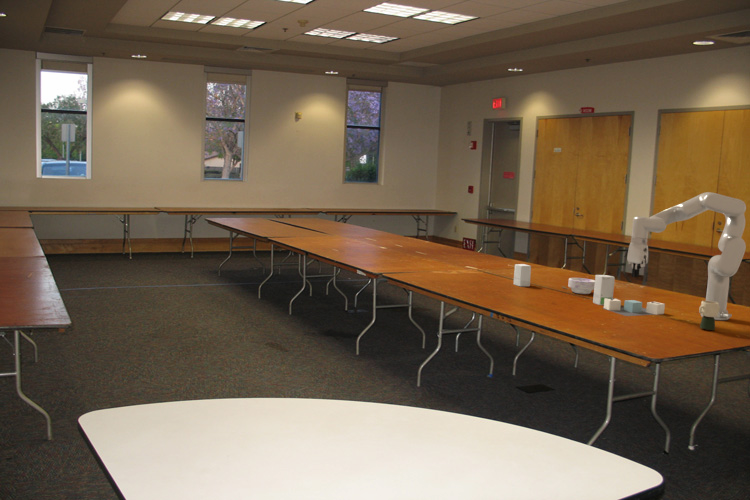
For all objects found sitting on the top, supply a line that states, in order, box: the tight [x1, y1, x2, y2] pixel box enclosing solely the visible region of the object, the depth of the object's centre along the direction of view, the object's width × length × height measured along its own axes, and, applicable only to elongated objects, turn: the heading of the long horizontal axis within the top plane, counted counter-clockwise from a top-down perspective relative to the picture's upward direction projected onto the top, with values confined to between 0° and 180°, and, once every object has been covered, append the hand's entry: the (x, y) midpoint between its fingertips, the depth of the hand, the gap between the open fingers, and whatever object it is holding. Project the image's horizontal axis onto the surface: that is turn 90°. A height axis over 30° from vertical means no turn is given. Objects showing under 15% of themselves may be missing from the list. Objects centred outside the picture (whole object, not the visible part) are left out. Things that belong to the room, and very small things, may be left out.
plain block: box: [623, 299, 643, 313], centre depth 336 cm, size 6×6×5 cm
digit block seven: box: [603, 297, 622, 311], centre depth 339 cm, size 6×6×5 cm
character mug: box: [698, 300, 720, 331], centre depth 303 cm, size 11×7×13 cm, turn 106°
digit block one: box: [645, 301, 666, 315], centre depth 334 cm, size 6×6×5 cm
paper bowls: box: [567, 277, 595, 295], centre depth 384 cm, size 15×15×8 cm
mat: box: [602, 306, 656, 317], centre depth 337 cm, size 18×24×1 cm
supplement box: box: [513, 263, 532, 287], centre depth 400 cm, size 7×7×13 cm
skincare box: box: [592, 274, 616, 306], centre depth 352 cm, size 8×7×16 cm
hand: (635, 276), depth 334 cm, fingers closed
